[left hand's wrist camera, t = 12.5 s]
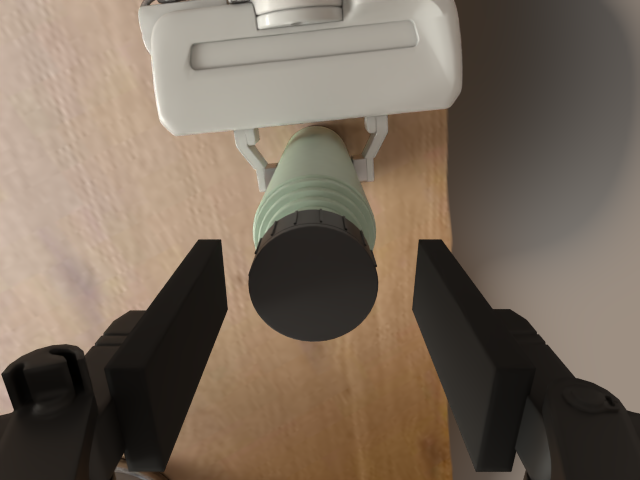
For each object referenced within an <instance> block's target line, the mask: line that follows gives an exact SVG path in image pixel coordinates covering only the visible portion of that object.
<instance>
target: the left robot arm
mask: <svg viewBox="0 0 640 480" xmlns="http://www.w3.org/2000/svg"><path fill="white" fill-rule="evenodd" d="M227 310H228V306H227V296H226V286H225V275H224V265H223V255H222V244H221V240H198V241H197V242H196V244H195V245H194V246H193V248H192V249H191V251H190V252H189V253H188V255H187V256H186V257H185V259H184V260H183V261H182V263H181V264H180V265H179V267H178V268H177V270H176V271H175V272H174V274H173V275H172V276H171V278H170V279H169V280H168V282H167V283H166V284H165V286H164V287H163V289H162V290H161V291H160V293H159V294H158V295H157V297H156V298H155V299H154V301H153V302H152V303H151V305H150V306H149V308H148V309H147V310H146V311H129V312H127V313H126V314H124V315H122V316H121V317H119V318H118V319H116V320H115V321H113V323H112V324H111V325H110V326H109V327H108V329H107V330H106V331H105V332H104V335H103V336H101V337H100V338H99V339H98V341H97V342H96V343H95V346H93V347H92V348H91V349H90V350H89V351H88V352H87V354H86V355H85V356H84V352H83V350H81V349H80V348H79V347H77V346H73V345H68V344H63V345H52V346H48V347H44V348H41V349H37V350H35V351H32V352H30V353H28V354H26V355H23V356H21V357H20V358H18V359H17V360H16V361H14V362H13V363H11V364H10V365H9V366H8V367H7V368H6V369H5V370H4V372H3V373H2V374H1V375H2V378H3V380H4V383H5V386H6V389H7V392H8V394H9V397H10V400H11V403H12V406H13V408H14V411H13V412H12V413H9V414H5V415H0V480H168V479H167V478H166V477H165V476H163V475H162V474H160V473H159V472H164V471H165V468H166V465H167V463H168V460H169V458H170V455H171V453H172V450H173V448H174V445H175V443H176V440H177V437H178V435H179V432H180V430H181V427H182V425H183V422H184V420H185V417H186V415H187V412H188V409H189V407H190V404H191V402H192V399H193V397H194V394H195V392H196V389H197V387H198V384H199V381H200V379H201V376H202V374H203V371H204V369H205V366H206V364H207V361H208V359H209V356H210V353H211V351H212V348H213V346H214V343H215V341H216V338H217V336H218V333H219V331H220V328H221V325H222V323H223V320H224V318H225V315H226V313H227ZM412 310H413V313H414V315H415V318H416V320H417V323H418V325H419V328H420V331H421V333H422V336H423V338H424V341H425V343H426V346H427V348H428V351H429V353H430V356H431V359H432V361H433V364H434V366H435V369H436V371H437V374H438V376H439V379H440V381H441V384H442V387H443V389H444V392H445V394H446V397H447V399H448V402H449V404H450V407H451V409H452V412H453V414H454V417H455V420H456V422H457V425H458V427H459V430H460V432H461V435H462V437H463V440H464V443H465V445H466V448H467V450H468V453H469V455H470V458H471V460H472V463H473V466H474V468H475V471H476V472H511V471H512V467H513V463H514V458H515V454H516V451H517V453H518V455H519V457H520V459H521V461H522V463H523V465H524V467H525V469H526V472H525V476H524V479H523V480H640V414H639V413H634V412H631V411H627V410H626V409H625V407H624V406H623V405H622V403H621V402H620V400H619V399H618V398H616V397H615V396H614V395H613V394H611V393H610V392H609V391H608V390H606V389H604V388H602V387H600V386H598V385H596V384H594V383H591V382H588V381H585V380H582V379H578V378H575V377H574V376H573V374H572V373H571V372H570V371H569V370H568V368H567V367H566V366H565V365H564V364H563V362H562V361H561V360H560V359H559V358H558V357H557V355H556V354H555V353H554V352H553V351H552V349H551V348H550V347H549V346H548V345H546V344H545V341H544V340H543V339H542V338H541V336H540V335H539V334H537V332H536V330H535V329H534V328H533V327H532V326H531V324H530V323H529V322H528V321H527V320H526V319H524V318H523V317H521V316H520V315H518V314H517V313H515V312H514V311H512V310H510V309H492V308H491V306H490V305H489V304H488V302H487V301H486V299H485V298H484V297H483V295H482V294H481V293H480V291H479V290H478V289H477V287H476V286H475V284H474V283H473V282H472V280H471V279H470V278H469V276H468V275H467V274H466V272H465V271H464V270H463V268H462V267H461V265H460V264H459V263H458V261H457V260H456V259H455V257H454V256H453V255H452V253H451V252H450V251H449V249H448V248H447V246H446V245H445V244H444V242H443V241H442V240H419V244H418V255H417V265H416V275H415V286H414V296H413V306H412ZM123 454H125V458H126V460H124V459H121V457H122V456H123Z"/></svg>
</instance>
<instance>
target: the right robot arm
mask: <svg viewBox="0 0 640 480" xmlns="http://www.w3.org/2000/svg"><path fill="white" fill-rule="evenodd" d="M153 1H155V0H143V2H142V4H141V6H140V9H139V12H138V18H139V24H140V28H141V33H142V37H143V41H144V44H145V47H146V49H147V51H148V52H149V54H150V55H151V61H152V74H153V84H154V92H155V99H156V105H157V111H158V116H159V119H160V122H161V124H162V125H163V126H164V127H165V128H166V129H167V130H168V131H169V132H170V133H172V134H173V135H174V136H185V135H194V134H204V133H214V132H224V131H234V136H235V141H236V147H237V148H238V150H239V151H240V152H241V153H242V155H243V156H244V157H245V158H246V160H247V161H248V162H249V163H250V165H251V166H252V167H253V168H254V169H256V172H257V178H258V185H259V190H260V192H266V190H267V187H268V185H269V183H270V181H271V179H272V176H273V174H274V172H275V170H276V168H277V165H278V163H272V164H268V163H267V162H266V160H265V159H264V158H263V156H262V155H261V153H260V152H259V151H258V149H257V148H256V147H255V144H256V143H257V142H258V141H259V139H260V138H259V131H258V128H263V127H273V126H282V125H292V124H302V123H312V122H321V121H331V120H341V119H351V118H360V117H364V123H365V129H366V130H367V131H368V132H369V133H371V135H370V137H369V139H368V141H367V144H366V146H365V148H364V150H363V152H362V154H361V155H353V156H351V161H352V163H353V166H354V168H355V171H356V173H357V176H358V178H359V180H360V183H361V182H371V181H374V162H373V158H375V157H376V155H377V153H378V151H379V149H380V147H381V145H382V143H383V141H384V139H385V137H386V135H387V133H388V115H390V114H399V113H409V112H419V111H429V110H438V109H447V108H449V107H451V106H452V104H453V103H454V102H455V100H456V99H457V97H458V96H459V94H460V93H461V90H462V47H461V34H460V26H459V18H458V12H457V8H456V4H455V2H454V0H191V1H186V0H157V1H158V2H159V3H161V4H156V5H150V4H151V3H152V2H153ZM180 1H183V2H180ZM229 4H230V5H229Z"/></svg>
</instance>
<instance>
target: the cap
mask: <svg viewBox="0 0 640 480" xmlns="http://www.w3.org/2000/svg"><path fill="white" fill-rule="evenodd" d="M255 254H256V255H255V258H254V260H253V263H252V266H251V269H250V272H249V283H248V285H249V293H250V298H251V301H252V303H253V306H254V308H255V309H256V311H257V313H258V314H259V316H260V317H261V318H262V319H263V320H264V322H265V323H266V324H267V325H269V326H270V327H271V328H272V329H274V330H275V331H277V332H279V333H280V334H283V335H285V336H287V337H290V338H293V339H297V340H301V341H310V342H313V341H326V340H330V339H334V338H337V337H340V336H342V335H344V334H346V333H348V332H350V331H351V330H353V329H355V328H356V327H357V326H358V325H359V324H361V323H362V321H363V320H364V319H365V318H366V317H367V315H368V314H369V313H370V311H371V309H372V307H373V305H374V303H375V300H376V297H377V292H378V276H377V271H376V267H377V265H376V261H375V258H374V255H373V252H372V250H370V248H369V245H368V243H367V240H366V239H365V237H364V234H363V231H362V230H361V231H360V230H359V229H358V228H357V227H356V226H355V225H354V224H353V223H352V222H351V221H349V220H348V219H346V218H345V216H341V215H338V214H336V213H333V212H330V211H325V210H322V209H320V210H317V209H311V210H302V211H298V210H297V211H295V212H294V213H291V214H289V215H287V216H285V217H283V218H281V219H279V220H278V221H275V222H274V224H273V225H272V226H271V227H270V228H269V229H268V230H267V232H266V233H265V234H264V236H263V238H260V240H259V243H258V245H257V248H256V251H255Z"/></svg>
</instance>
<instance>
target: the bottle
mask: <svg viewBox="0 0 640 480" xmlns="http://www.w3.org/2000/svg"><path fill="white" fill-rule="evenodd" d="M311 209H317V210H320V209H322V210H325V211H330V212H333V213H336V214H338V215H341V216H345V218H346V219H348V220H349V221H351V222H352V223H353V224H354V225H355V226H356V227H357V228H358V229H359V230H360V231H361V230H362V231H363V234H364V237H365V239H366V240H367V243H368V245H369V248H370V250H372V251H373V248H374V244H375V239H376V225H375V219H374V215H373V213H372V210H371V208H370V205H369V203H368V200H367V198H366V195H365V193H364V190H363V188H362V185H361V183H360V180H359V178H358V176H357V173H356V171H355V168H354V166H353V163H352V161H351V158H350V156H349V153H348V151H347V148H346V146H345V144H344V142H343V140H342V139H341V137H340V136H339V135H338V134H337V133H335V132H334V131H333V130H331V129H329V128H326V127H323V126H309V127H306V128H303V129H301V130H299V131H298V132H297V133H295V134H294V135H293V136H292V137H291V139H290V140H289V142H288V144H287V146H286V148H285V150H284V152H283V155H282V157H281V159H280V161H279V163H278V165H277V168H276V170H275V172H274V174H273V176H272V179H271V181H270V183H269V185H268V187H267V190H266V192H265V194H264V196H263V198H262V200H261V203H260V205H259V207H258V209H257V212H256V215H255V218H254V223H253V240H254V244H255V248H257V245H258V243H259V240H260V238H263V236H264V234H265V233H266V232H267V230H268V229H269V228H270V227H271V226H272V225H273V224H274V222H275V221H278V220H279V219H281V218H283V217H285V216H287V215H289V214H291V213H294V212H295V211H297V210H298V211H302V210H311Z"/></svg>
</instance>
